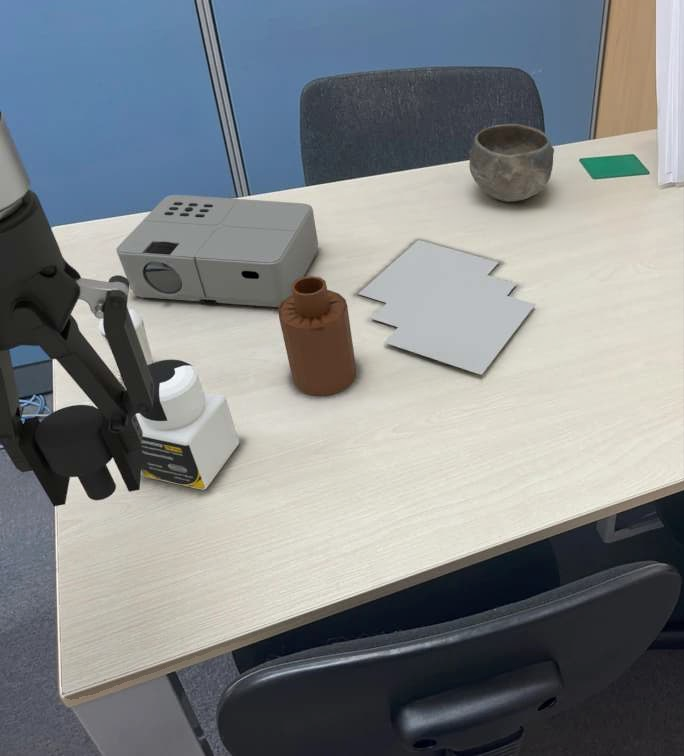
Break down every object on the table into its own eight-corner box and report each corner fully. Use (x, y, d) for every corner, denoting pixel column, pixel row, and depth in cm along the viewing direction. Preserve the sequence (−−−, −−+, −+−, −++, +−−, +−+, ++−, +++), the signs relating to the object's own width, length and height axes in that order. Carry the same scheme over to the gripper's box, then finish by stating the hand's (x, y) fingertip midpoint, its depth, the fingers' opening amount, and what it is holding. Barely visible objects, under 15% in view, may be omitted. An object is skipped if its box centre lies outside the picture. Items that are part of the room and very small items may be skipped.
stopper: (66, 519, 52) (28, 454, 48) (73, 475, 55) (39, 410, 51) (131, 505, 53) (100, 441, 49) (134, 464, 57) (106, 399, 52)
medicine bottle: (143, 477, 73) (103, 391, 65) (182, 430, 79) (150, 345, 71) (205, 492, 72) (172, 406, 64) (241, 442, 77) (215, 358, 69)
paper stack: (322, 325, 93) (321, 321, 93) (418, 240, 111) (418, 236, 110) (481, 379, 86) (481, 374, 86) (557, 278, 104) (558, 274, 103)
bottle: (296, 401, 83) (276, 310, 74) (290, 361, 88) (270, 272, 79) (360, 389, 84) (348, 299, 76) (351, 351, 90) (338, 263, 81)
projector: (181, 239, 109) (166, 192, 104) (322, 249, 108) (314, 202, 103) (129, 301, 96) (109, 251, 91) (288, 313, 95) (278, 263, 90)
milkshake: (152, 356, 88) (126, 288, 81) (168, 379, 85) (143, 310, 78) (113, 370, 86) (84, 302, 79) (128, 394, 83) (99, 325, 76)
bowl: (461, 208, 119) (460, 151, 112) (480, 169, 130) (481, 115, 124) (543, 218, 117) (547, 160, 111) (555, 178, 129) (560, 123, 122)
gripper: (134, 160, 44) (218, 429, 59) (-209, 189, 39) (-21, 472, 54) (126, 218, 38) (221, 497, 54) (-273, 259, 34) (-45, 551, 49)
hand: (99, 484), depth 54 cm, fingers closed on stopper, 4 cm apart
